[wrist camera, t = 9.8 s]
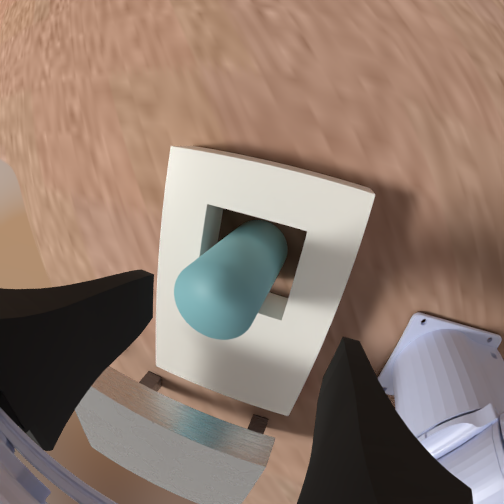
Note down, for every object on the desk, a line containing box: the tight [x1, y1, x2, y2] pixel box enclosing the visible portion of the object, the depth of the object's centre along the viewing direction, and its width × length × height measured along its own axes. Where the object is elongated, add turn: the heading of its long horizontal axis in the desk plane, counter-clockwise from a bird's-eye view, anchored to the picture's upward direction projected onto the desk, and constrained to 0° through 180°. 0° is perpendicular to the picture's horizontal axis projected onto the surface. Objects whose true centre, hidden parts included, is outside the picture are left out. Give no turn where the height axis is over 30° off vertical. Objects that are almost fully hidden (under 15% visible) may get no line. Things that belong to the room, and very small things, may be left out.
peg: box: [174, 220, 288, 340], centre depth 17 cm, size 4×4×8 cm
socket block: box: [156, 146, 375, 416], centre depth 20 cm, size 12×18×3 cm, turn 168°
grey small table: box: [75, 366, 275, 504], centre depth 21 cm, size 14×12×11 cm
